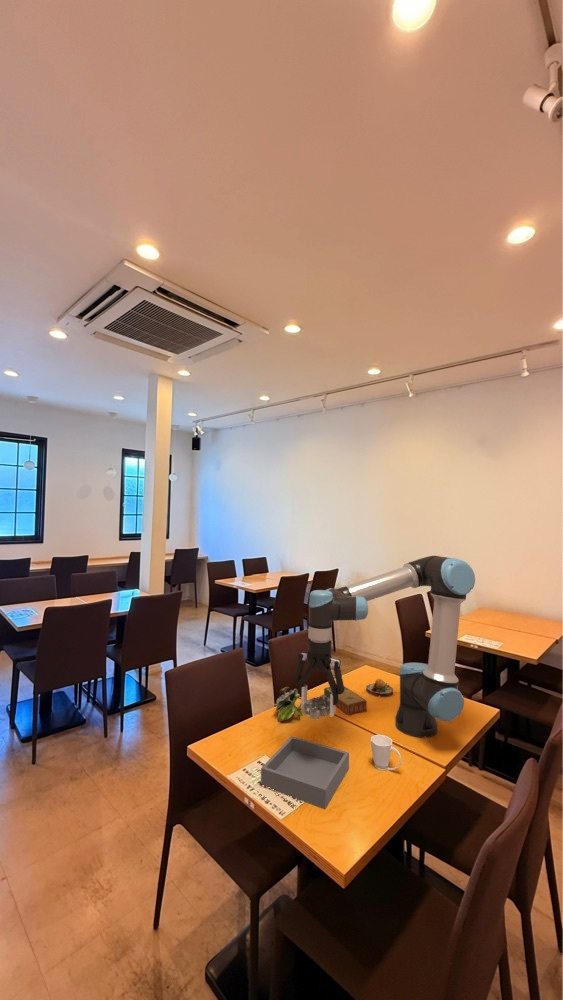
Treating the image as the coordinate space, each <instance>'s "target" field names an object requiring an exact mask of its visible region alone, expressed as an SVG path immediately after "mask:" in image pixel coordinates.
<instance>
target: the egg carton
mask: <svg viewBox="0 0 563 1000" xmlns="http://www.w3.org/2000/svg"><path fill="white" fill-rule="evenodd" d="M300 704H301V703H300ZM301 705H303V706H304V707H303V708H302V714H303V715H307V716H309V718H310V719H311V720H319V719H320V717H327V716H328V715H329V714H330V699H329V697H328V698H327V697H326V696H325V695H324V693H323V694H322V695H320V696H316V697H312V698H310V699H307V700H304V701H303V702H302V704H301ZM335 708H337V707H336V705H335Z"/></svg>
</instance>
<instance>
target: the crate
mask: <svg viewBox="0 0 563 1000" xmlns="http://www.w3.org/2000/svg"><path fill="white" fill-rule="evenodd" d="M349 770H350V752H349V751H345V750H341V749H337V748H335V747H331V746H328V745H325V744H324V745H323V744H320V743H317V742H313V741H310V740H307V739H303V738H299V737H297V736H293V735H292V736H291V735H290V737H289V738H288V739H287V740H286V741H285V742H284V743H283V744H282V746H280V748H278V749H277V751H275V753H274V754H273V755H272V756H271V757H270V758H269V759H268V760H267V761H266V762H265V763H264V764H263V766H261V768H260V785H261V784H262V785H264V786H267V787H270V788H271V789H274V790H276V791H275V792H277V791H279V792H281V793H280V794H282V793H284V794H283V795H285V794H286V796H288V795H289V796H288V797H290V796H292V797H291V798H293V797H294V799H296V798H297V799H296V800H299V799H300V800H299V801H301V800H302V802H304V803H307V804H310V805H313V806H315V807H318V808H321V809H324V810H326V808H327V807H328V806H329V804H330V802H331V801H332V798H333V797H334V795H335V794H336V792H337V790H338V788H339V787H340V785H341V784H342V782H343V780H344V778H345V777H346V774H347V773H348V771H349ZM271 789H270V790H271ZM274 790H273V791H274ZM279 792H278V793H279Z"/></svg>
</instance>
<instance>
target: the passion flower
mask: <svg viewBox="0 0 563 1000" xmlns="http://www.w3.org/2000/svg"><path fill="white" fill-rule="evenodd" d="M289 689H290V686H285V687H284V688H280V689H279V694H280V696H278V698H277V699H276V702H275V703H274V704H273V706H274V707H275V711H278V713H277V714H278V715H277V721H278V722H282V721H284V720H289V719H290V718H292V717H293V716H294V715H295V713H296V714H297V715H298V720H300V719H301V717H303V716H304V713H303V711H302V708H301V703H300V705H299V706H296V702H297V700H298V699H299V698H301V697H302V696H300V695H299V689H297V688H294V689H290V690H289ZM288 690H289V691H288ZM286 691H287V692H286Z"/></svg>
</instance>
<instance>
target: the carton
mask: <svg viewBox="0 0 563 1000" xmlns="http://www.w3.org/2000/svg"><path fill="white" fill-rule="evenodd" d="M323 694H324V695H325V696H326V697H327V698H328V697H329V699H330V695H331V694H332V691H331V688H330V686H327V687H324V689H323ZM367 705H368V703H367V700H366V699H365V698H364V697H362V696H361V695H359V694H357V693H355V692H354V691H353V690H351V689H349V688H348V687H346V686H345V685H344V692H343V693H342V694H338V704H337V705H336V707H335V708H336V709H338V710H339V711H341V712H342V713H344V714H345V715H346V716H347V717H349V716H352V715H353V716H354V715H357V714H361V713H366V712H368V711H367V709H368V706H367Z"/></svg>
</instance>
